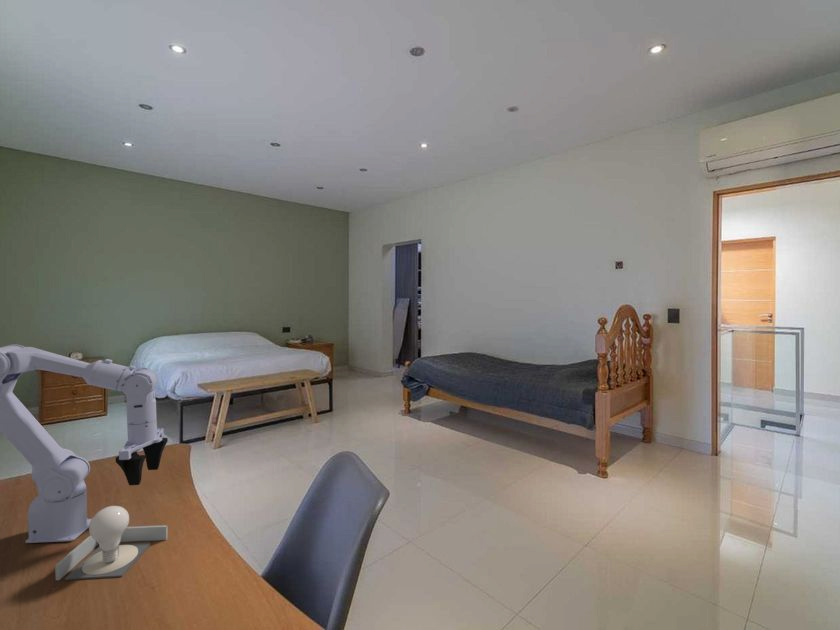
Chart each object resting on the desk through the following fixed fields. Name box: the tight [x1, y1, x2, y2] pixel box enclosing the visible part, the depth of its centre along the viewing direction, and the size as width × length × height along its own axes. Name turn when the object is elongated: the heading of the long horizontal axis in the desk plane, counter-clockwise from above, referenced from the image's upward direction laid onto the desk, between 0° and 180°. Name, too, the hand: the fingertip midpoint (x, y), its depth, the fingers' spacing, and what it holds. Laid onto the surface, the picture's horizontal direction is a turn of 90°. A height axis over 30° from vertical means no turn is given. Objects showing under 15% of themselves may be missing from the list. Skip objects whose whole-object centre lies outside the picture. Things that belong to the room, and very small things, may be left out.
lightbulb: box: [88, 505, 130, 562], centre depth 80 cm, size 6×6×11 cm
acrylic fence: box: [54, 524, 169, 581], centre depth 81 cm, size 15×12×3 cm
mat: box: [64, 542, 152, 581], centre depth 80 cm, size 10×10×1 cm
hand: (144, 476), depth 95 cm, fingers open, 7 cm apart
